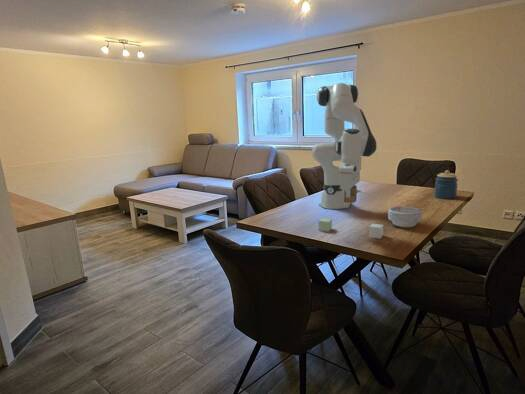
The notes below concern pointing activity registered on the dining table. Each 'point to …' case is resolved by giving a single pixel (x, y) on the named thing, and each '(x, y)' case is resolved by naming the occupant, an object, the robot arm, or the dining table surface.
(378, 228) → the grey cube
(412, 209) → the paper bowls
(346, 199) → the walnut block
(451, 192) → the canister
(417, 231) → the dining table surface
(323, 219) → the sage cube
